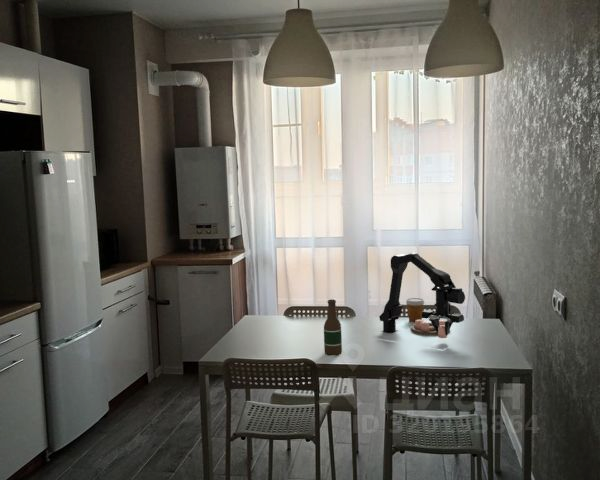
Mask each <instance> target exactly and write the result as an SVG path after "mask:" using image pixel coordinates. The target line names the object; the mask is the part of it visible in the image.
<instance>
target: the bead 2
mask: <svg viewBox="0 0 600 480" xmlns="http://www.w3.org/2000/svg"><path fill="white" fill-rule="evenodd" d="M437 338H440V339H446V338H448V335H447V336H446V333H445V325H439V326H438V335H437Z"/></svg>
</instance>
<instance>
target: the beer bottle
mask: <svg viewBox="0 0 600 480" xmlns="http://www.w3.org/2000/svg"><path fill="white" fill-rule="evenodd" d="M336 303H337V300H336V299H332V298H331V299H328V300H327V304H328V305H327V306H328V307H327V318H326V320H325V322H324V324H323V342H324V343H323V346H324V348H323V349H324V354H325V355H326V354H327V356H330V355H336V356H340V355H341V354H342V353H343V347H342V345H343V343H342V342H343V338H342V325H341V321H340V319H339V318H338V316H337V305H336ZM339 354H340V355H339Z"/></svg>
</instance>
